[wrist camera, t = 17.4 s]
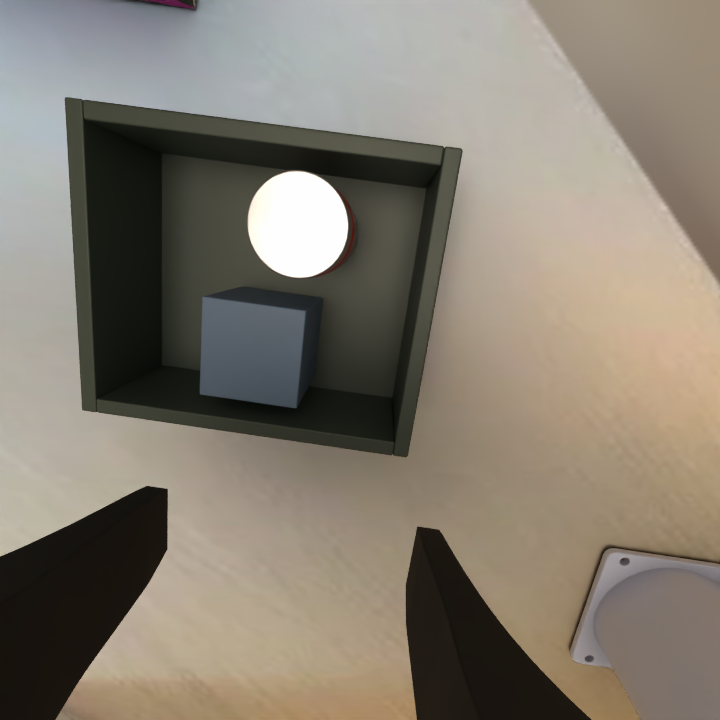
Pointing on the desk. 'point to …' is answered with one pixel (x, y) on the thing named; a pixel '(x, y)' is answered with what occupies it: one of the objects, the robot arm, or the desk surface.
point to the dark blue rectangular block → (259, 345)
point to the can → (301, 225)
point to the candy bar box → (174, 3)
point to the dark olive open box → (249, 268)
